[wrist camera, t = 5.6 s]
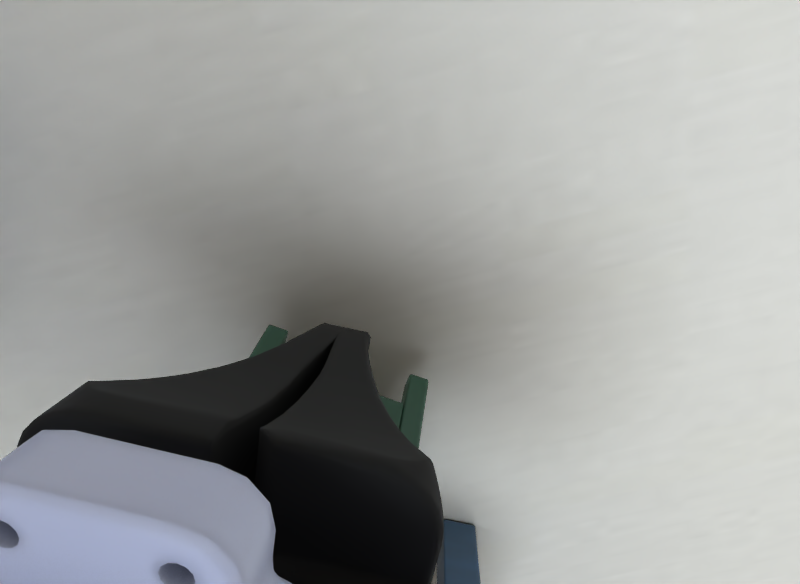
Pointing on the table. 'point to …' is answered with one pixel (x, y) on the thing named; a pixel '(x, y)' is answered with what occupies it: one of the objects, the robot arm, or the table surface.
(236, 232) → the table surface
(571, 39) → the table surface
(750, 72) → the table surface
